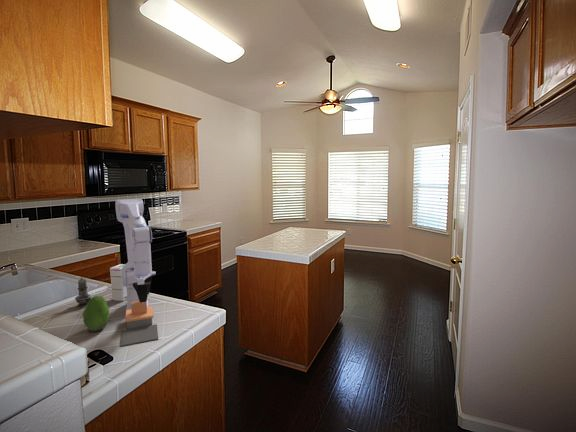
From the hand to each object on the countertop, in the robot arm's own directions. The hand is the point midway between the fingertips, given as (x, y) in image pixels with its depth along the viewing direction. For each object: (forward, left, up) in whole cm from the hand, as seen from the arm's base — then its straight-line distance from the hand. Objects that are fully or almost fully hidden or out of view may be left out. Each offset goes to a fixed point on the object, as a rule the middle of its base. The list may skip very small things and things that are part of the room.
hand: (144, 298), depth 115 cm
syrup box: (-30, -9, -10) cm, 33 cm away
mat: (+8, -2, -10) cm, 13 cm away
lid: (-2, -2, -7) cm, 7 cm away
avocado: (-3, -16, -10) cm, 19 cm away
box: (-2, -2, -10) cm, 10 cm away
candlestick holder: (-28, -23, -10) cm, 38 cm away
